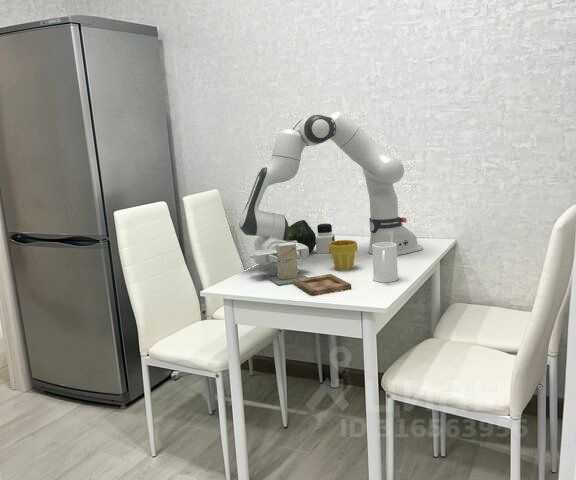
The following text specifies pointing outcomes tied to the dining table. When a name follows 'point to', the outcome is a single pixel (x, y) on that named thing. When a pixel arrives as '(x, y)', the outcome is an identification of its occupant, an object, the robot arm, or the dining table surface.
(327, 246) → the medicine bottle
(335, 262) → the plant pot
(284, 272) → the skincare box
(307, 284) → the walnut tray
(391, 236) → the robot arm
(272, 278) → the mat
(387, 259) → the mug
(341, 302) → the dining table surface
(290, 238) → the squash
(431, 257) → the dining table surface
